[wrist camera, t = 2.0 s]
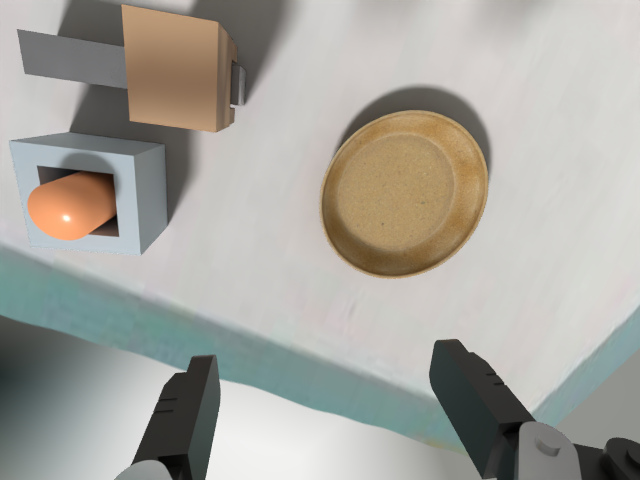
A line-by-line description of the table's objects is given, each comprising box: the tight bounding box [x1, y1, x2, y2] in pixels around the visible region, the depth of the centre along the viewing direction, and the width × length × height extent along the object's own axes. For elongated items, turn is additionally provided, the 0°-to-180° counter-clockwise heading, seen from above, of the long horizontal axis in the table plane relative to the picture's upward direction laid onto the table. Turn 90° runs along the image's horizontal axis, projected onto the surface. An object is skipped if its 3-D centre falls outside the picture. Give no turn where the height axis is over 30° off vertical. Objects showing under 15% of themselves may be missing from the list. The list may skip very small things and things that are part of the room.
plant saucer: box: [319, 110, 488, 279], centre depth 29 cm, size 15×15×3 cm
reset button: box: [27, 171, 117, 240], centre depth 22 cm, size 4×4×6 cm
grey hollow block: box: [9, 132, 168, 256], centre depth 24 cm, size 7×7×6 cm
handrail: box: [17, 29, 246, 105], centre depth 23 cm, size 2×13×4 cm, turn 82°
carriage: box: [121, 4, 237, 132], centre depth 20 cm, size 5×4×7 cm
